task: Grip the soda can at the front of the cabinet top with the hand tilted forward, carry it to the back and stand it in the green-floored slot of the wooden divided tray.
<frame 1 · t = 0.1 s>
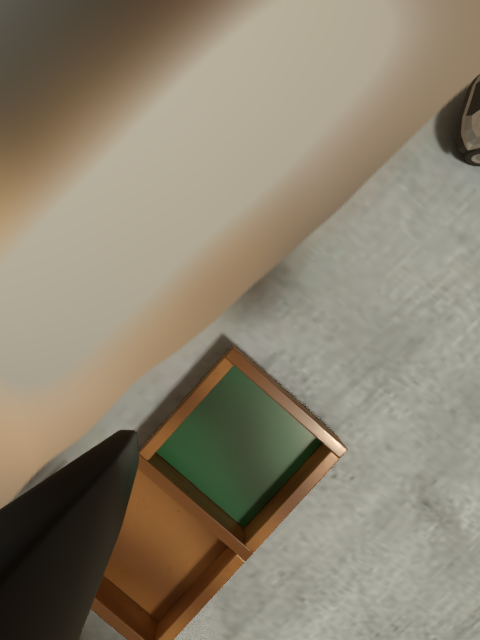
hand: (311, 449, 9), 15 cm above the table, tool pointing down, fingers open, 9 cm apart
wooden divided tray: (196, 489, 24), on the table
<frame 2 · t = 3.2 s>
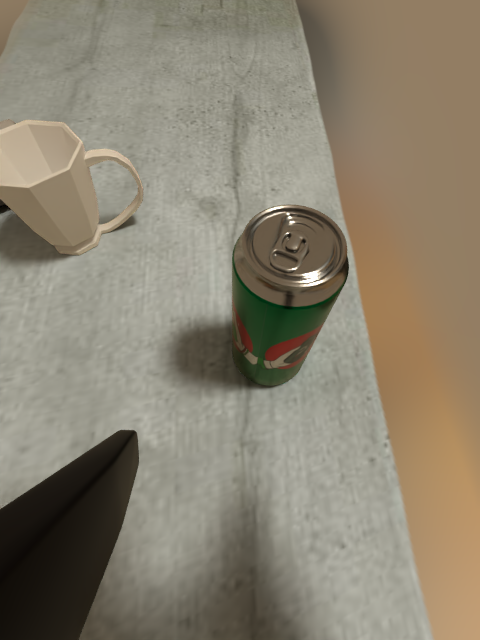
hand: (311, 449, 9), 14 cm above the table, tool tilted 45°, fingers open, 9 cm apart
cup: (95, 233, 30), on the table
soda can: (267, 355, 25), on the table
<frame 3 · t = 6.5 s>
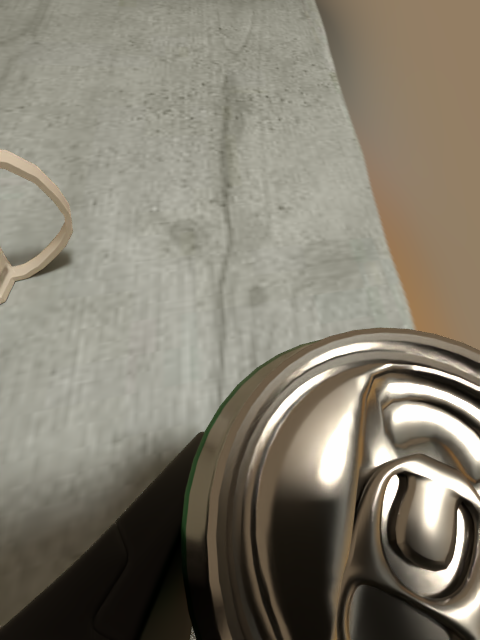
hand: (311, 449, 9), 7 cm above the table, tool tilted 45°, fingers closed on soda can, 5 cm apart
cup: (6, 280, 19), on the table
soda can: (279, 507, 14), on the table, touching gripper
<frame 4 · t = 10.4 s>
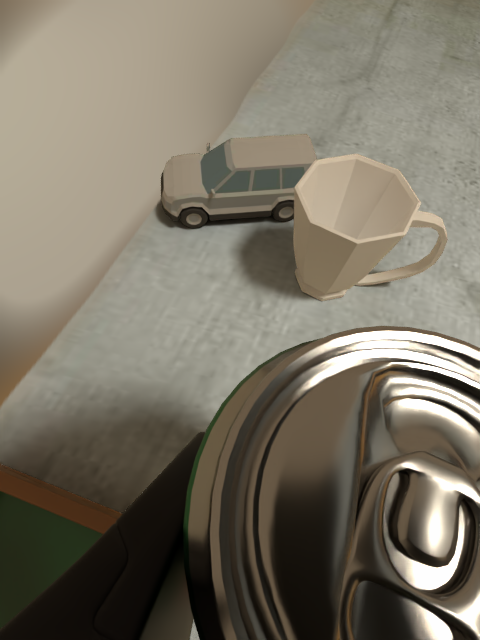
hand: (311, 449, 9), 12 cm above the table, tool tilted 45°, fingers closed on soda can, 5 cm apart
cup: (341, 281, 26), on the table
toy car: (239, 204, 30), on the table
soda can: (279, 506, 14), point 6 cm above the table, touching gripper
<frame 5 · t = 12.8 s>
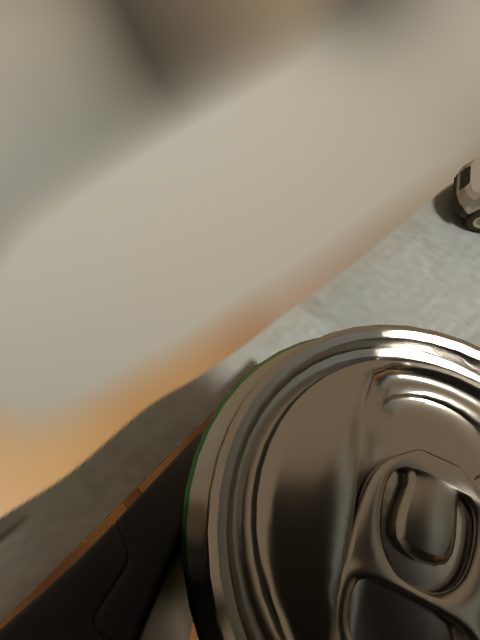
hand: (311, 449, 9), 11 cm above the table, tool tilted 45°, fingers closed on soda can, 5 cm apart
wooden divided tray: (205, 576, 16), on the table
soda can: (278, 506, 14), point 4 cm above the table, touching gripper
when the fingers open (7 cm above the table, at t = 14.7 s): soda can stays where it is, resting on wooden divided tray.
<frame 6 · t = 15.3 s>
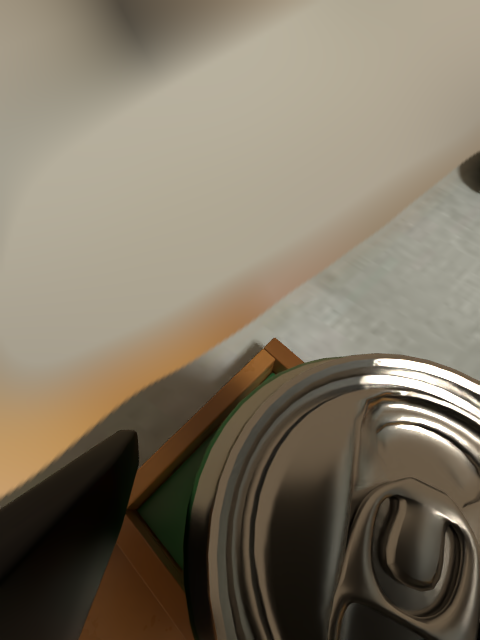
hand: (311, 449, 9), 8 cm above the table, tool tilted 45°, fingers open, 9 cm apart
wooden divided tray: (198, 607, 13), on the table
soda can: (278, 512, 14), resting on wooden divided tray
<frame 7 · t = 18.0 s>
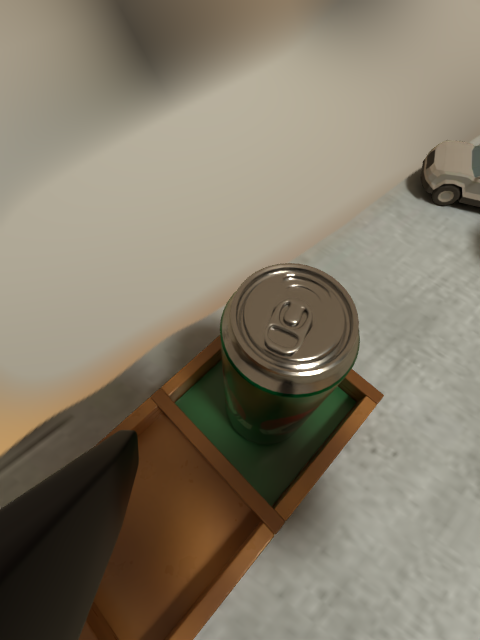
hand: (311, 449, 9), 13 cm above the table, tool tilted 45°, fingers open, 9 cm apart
wooden divided tray: (214, 458, 21), on the table
soda can: (264, 405, 22), resting on wooden divided tray
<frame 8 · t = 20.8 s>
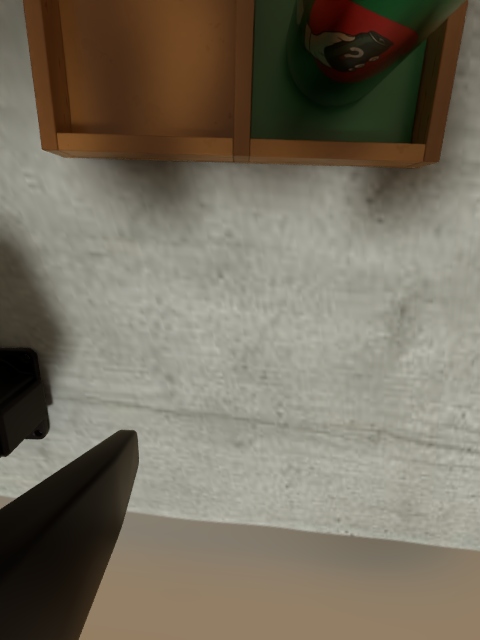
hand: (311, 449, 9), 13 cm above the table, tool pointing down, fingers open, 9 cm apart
wooden divided tray: (244, 54, 17), on the table
soda can: (334, 53, 17), resting on wooden divided tray
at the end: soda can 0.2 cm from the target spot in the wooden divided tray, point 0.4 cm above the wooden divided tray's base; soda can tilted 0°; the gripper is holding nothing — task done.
